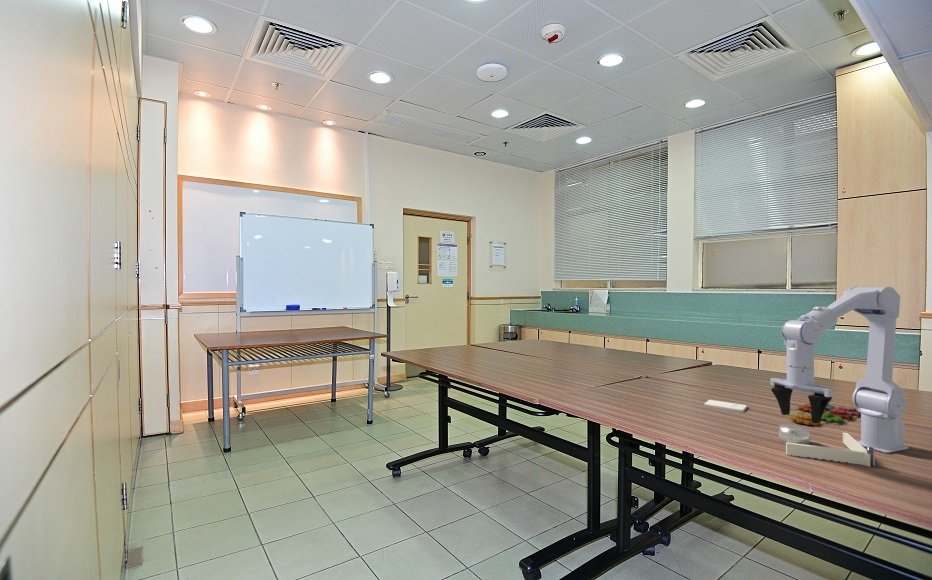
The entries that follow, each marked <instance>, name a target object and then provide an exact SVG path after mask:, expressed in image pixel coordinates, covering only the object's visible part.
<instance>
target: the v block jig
mask: <svg viewBox="0 0 932 580" xmlns="http://www.w3.org/2000/svg"><path fill="white" fill-rule="evenodd" d="M857 441H858V440H856V439H855V438H854V437H852V436H851V435H850V434H849V433H848V432H842V444H843V443H844V444H845V445H846V446H847V447H848V448H849V449H850V450H849V449H848V448H847V447H846V446H845V445H844V444H843V445H844V446H845V447H846V448H847V449H845V448H844V449H843V448H838V447H837V448H835V447H828V446H820V445H812V444H809V445H804V444H796V443H788V442H786V443H785V454H786V456H791V455H792V457H799V456H800V457H801V458H807V457H810V458H809V459H814V458H817V459H818V460H822V459H825V460H824V461H830V460H833V461H832V462H838V461H840V462H839V463H845V462H848V463H847V464H853V465H860V466H866V467H868V468H869V467H871V468H872V467H873V468H874V466H875V453H874V452H875V450H874V448H873V447H864V446H862V445H860V444H859V443H858V442H857ZM817 459H816V460H817Z"/></svg>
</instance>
